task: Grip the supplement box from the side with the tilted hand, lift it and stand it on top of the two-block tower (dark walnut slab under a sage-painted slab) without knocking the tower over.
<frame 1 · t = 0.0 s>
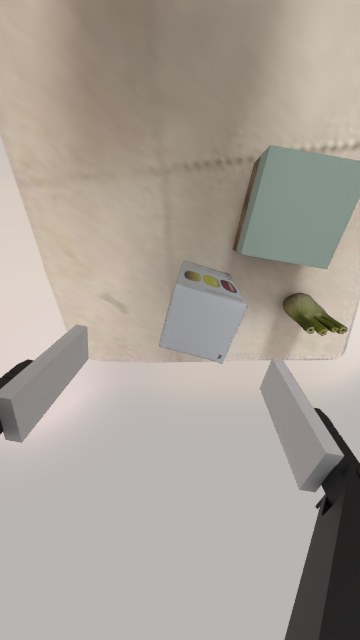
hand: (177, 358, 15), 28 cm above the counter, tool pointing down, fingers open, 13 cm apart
fennel bulb: (294, 302, 41), on the counter
tower top: (289, 214, 32), point 4 cm above the counter, touching tower base
supplement box: (199, 289, 42), on the counter
tower base: (280, 215, 36), on the counter, touching tower top
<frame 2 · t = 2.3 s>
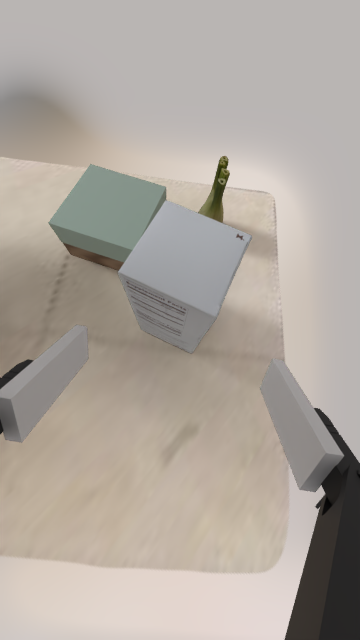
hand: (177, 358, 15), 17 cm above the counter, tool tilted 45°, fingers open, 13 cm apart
fennel bulb: (206, 230, 41), on the counter
tower top: (116, 224, 35), point 3 cm above the counter, touching tower base
supplement box: (178, 317, 34), on the counter
tower base: (121, 240, 39), on the counter, touching tower top
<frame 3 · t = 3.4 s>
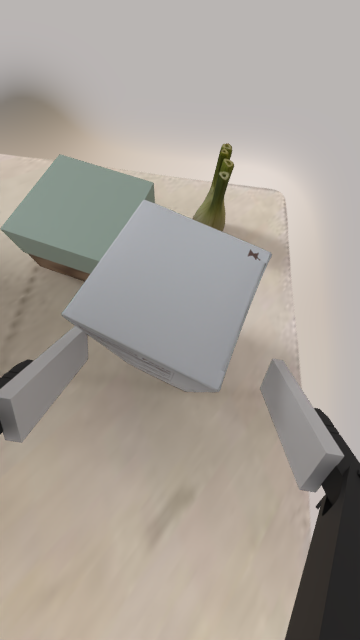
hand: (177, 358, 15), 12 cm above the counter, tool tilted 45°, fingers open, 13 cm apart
fennel bulb: (205, 235, 34), on the counter
tower top: (93, 228, 29), point 3 cm above the counter, touching tower base
supplement box: (170, 344, 28), on the counter, touching gripper
tower base: (102, 247, 32), on the counter, touching tower top
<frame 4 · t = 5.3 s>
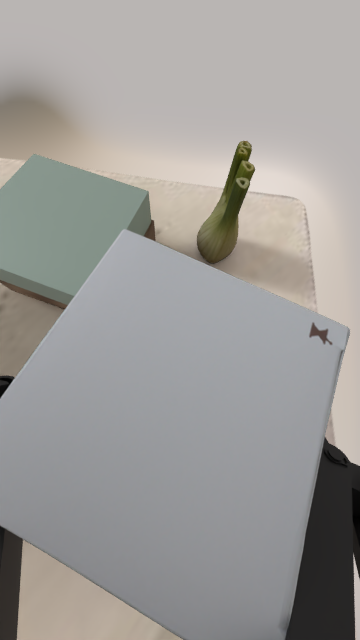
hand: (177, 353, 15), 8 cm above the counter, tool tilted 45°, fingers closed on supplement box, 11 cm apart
fennel bulb: (212, 251, 28), on the counter
tower top: (74, 245, 23), point 3 cm above the counter, touching tower base
supplement box: (169, 392, 22), on the counter, touching gripper
tower base: (90, 266, 27), on the counter, touching tower top
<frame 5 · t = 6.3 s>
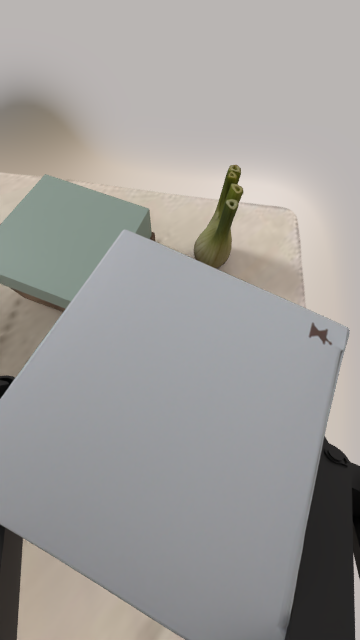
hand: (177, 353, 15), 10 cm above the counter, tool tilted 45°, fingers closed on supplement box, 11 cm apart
fennel bulb: (208, 260, 31), on the counter
tower top: (80, 257, 25), point 3 cm above the counter, touching tower base
supplement box: (169, 392, 22), point 2 cm above the counter, touching gripper
when the fingers open (17 cm above the counter, at t = 12.0 s): supplement box drops 2 cm, resting on tower top.
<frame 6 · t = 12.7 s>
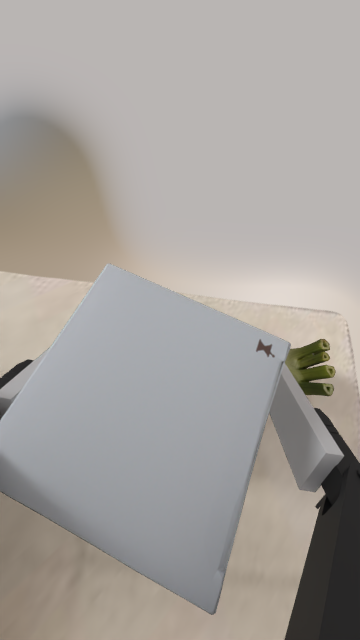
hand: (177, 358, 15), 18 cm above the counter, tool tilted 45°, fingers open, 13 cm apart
fennel bulb: (271, 373, 33), on the counter
supplement box: (161, 394, 24), point 7 cm above the counter, touching gripper, tower top
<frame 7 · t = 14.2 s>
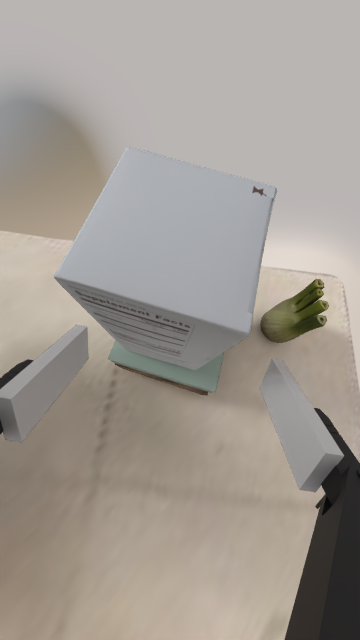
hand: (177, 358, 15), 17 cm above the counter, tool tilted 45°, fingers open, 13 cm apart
fennel bulb: (270, 328, 35), on the counter
tower top: (175, 332, 30), point 3 cm above the counter, touching supplement box
supplement box: (170, 325, 26), point 7 cm above the counter, touching tower top
tower base: (174, 341, 34), on the counter
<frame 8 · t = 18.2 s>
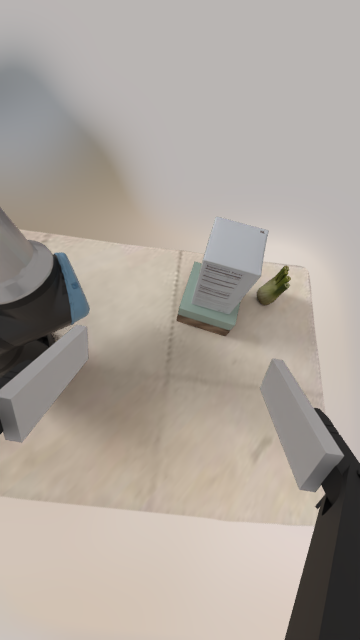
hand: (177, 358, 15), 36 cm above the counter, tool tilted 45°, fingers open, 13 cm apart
fennel bulb: (262, 298, 58), on the counter
tower top: (210, 299, 52), point 4 cm above the counter, touching supplement box, tower base
supplement box: (214, 292, 49), point 7 cm above the counter, touching tower top
tower base: (206, 306, 56), on the counter, touching tower top
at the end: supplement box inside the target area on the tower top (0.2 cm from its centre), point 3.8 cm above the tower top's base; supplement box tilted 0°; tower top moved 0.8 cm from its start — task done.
